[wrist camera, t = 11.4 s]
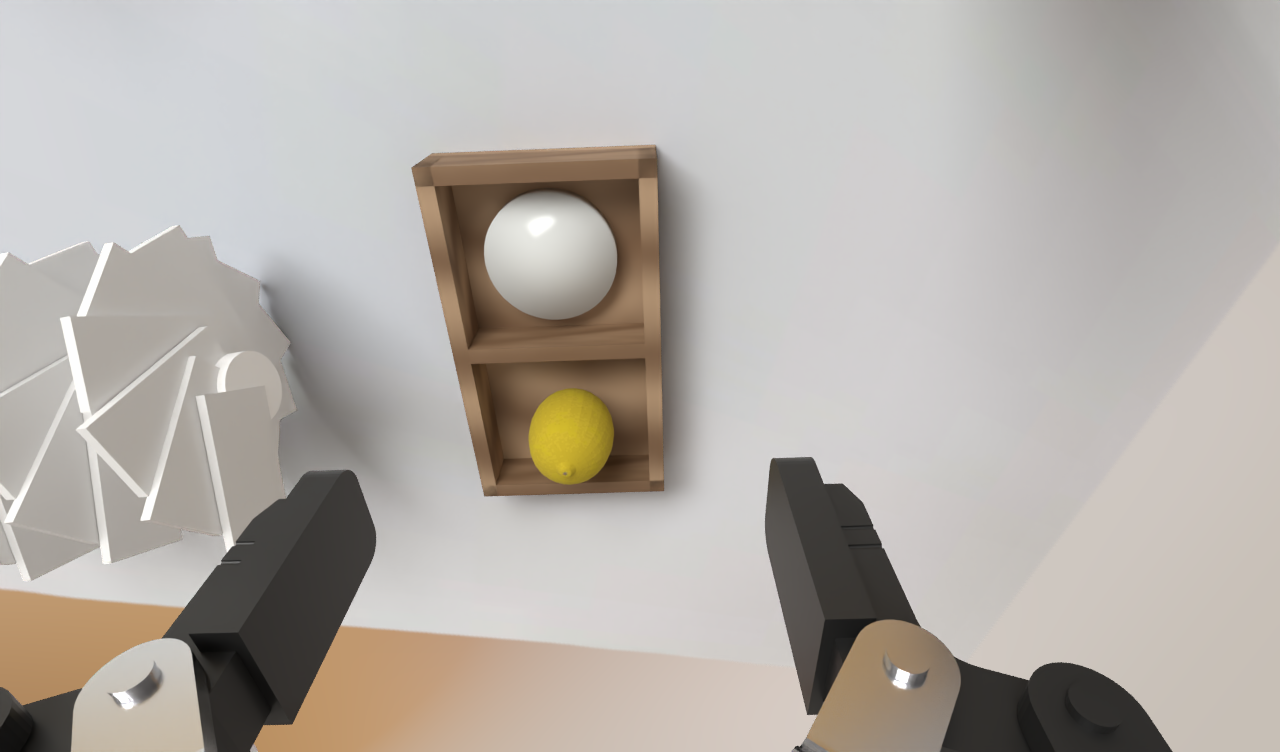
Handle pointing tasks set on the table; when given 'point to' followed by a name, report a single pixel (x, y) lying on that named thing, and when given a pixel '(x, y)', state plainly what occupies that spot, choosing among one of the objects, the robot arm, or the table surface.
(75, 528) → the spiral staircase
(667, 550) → the table surface
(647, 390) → the divided wooden tray
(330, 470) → the robot arm
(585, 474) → the lemon
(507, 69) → the table surface
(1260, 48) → the table surface
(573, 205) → the white egg
